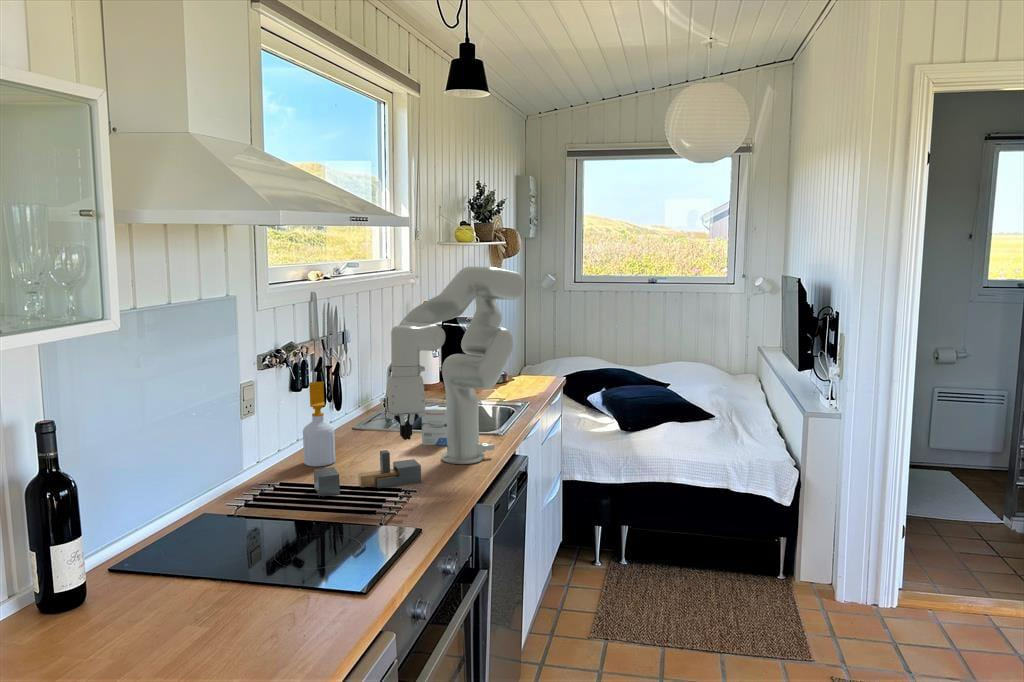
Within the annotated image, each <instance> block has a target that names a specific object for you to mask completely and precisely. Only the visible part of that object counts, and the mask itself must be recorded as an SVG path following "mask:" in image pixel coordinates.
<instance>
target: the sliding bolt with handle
mask: <svg viewBox="0 0 1024 682" xmlns="http://www.w3.org/2000/svg"><path fill="white" fill-rule="evenodd" d="M390 456H391V452H390V451H389V450H388V449H386V450H379V465H380V467H379V468H380V470H373V471H365V472H358V473H357V476H358V477H357V479H358V481H357V482H358V486H359V487H360V488H367V487H375V486H376V478H383V477H391V476H398V469H397V468H396V469H393V468H391V457H390ZM376 487H377V486H376Z"/></svg>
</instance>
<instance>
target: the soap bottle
mask: <svg viewBox="0 0 1024 682" xmlns="http://www.w3.org/2000/svg"><path fill="white" fill-rule="evenodd" d="M324 383H325V381H312V382H310V381H309V383H308V384H309V405H310V408H312V409H313V410H314V412H312V414H311V422H309V423H308V424H307V425H306V426H304V427H303V429H302V443H303V447H302V448H303V463H304V465H306V466H309V467H314V468H315V467H316V468H317V467H319V468H320V467H326V466H330V465H332V464H334V463H335V462H336V444H335V443H336V441H335V440H336V439H335V429H334V426H333V425H332V424H331V423H330V422H327V421H326V420H325V419H324V418H325V417H324V412H321V409H323V407H326V405H325V404H326V403H325V388H324Z"/></svg>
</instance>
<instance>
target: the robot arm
mask: <svg viewBox="0 0 1024 682" xmlns="http://www.w3.org/2000/svg"><path fill="white" fill-rule="evenodd" d="M525 286H526V284H525V280H524V278H523V276H522V275H521V274H520V273H519V272H517V271H514V270H513V271H512V270H507V269H503V268H498V267H494V266H466V267H463V268H462V269H460V270H459V271H458V272H457V274H456V275H454V277H453V278H452V279H451V281H450V282H449V283H448V284H447V285H446V286H445V288H443V290H442V291H441V292H440V293H439V294H438V295H436V296H434V297H432V298H429V300H426V301H424V302H423V303H421V304H419V305H418V306H416V307H414V308H412V309H411V310H410V311H409V312H408V313H407V315H406V316H404V318H403V319H402V320H401V321H400V323H398V325H395V326H392V328H391V331H390V346H391V353H390V355H391V356H390V357H391V365H390V367H391V372H390V373H391V375H390V376H388V377H387V383H386V390H385V410H386V414H385V417H386V418H387V419H390V420H394V421H396V422H397V423H398V424H399V434H400V435H399V436H400V437H401V438H402V440H404V441H407V440H409V441H410V440H411V437H412V436H413V425H414V424H415V422H416V420H417V419H419V418H422V416H425V415H426V413H425V407H426V392H425V385H424V379H423V376H422V375H421V373H422V372H425V371H426V368H425V366H424V365H423V366H422V365H421V364H420V360H421V359H420V357H421V356H420V355H421V354H420V352H421V351H428V352H433V351H437V350H439V349H441V348H442V347H443V345H445V342H446V332H445V330H444V329H443V328H442V327H441V326H440V325H438V324H437V323H441V322H446V321H449V320H453V319H455V318H458V317H460V316H462V315H463V313H465V311H466V310H467V309H468V307H469V306H470V304H471V303H472V302H473V301H474V300H475V312H474V313H473V317H472V319H471V320H470V323H469V325H468V326H467V328H466V330H465V332H464V334H463V337H462V339H461V343H460V347H461V349H462V352H463V353H454V354H451V355H449V356H447V357H446V358H445V359H444V361H443V363H442V367H441V375H442V378H443V383H444V389H445V400H446V401H445V402H446V404H445V407H446V413H447V445H446V449H447V450H446V451H445V452H444V453H442V455H441V459H442V461H444V462H445V463H448V464H453V465H454V464H455V465H470V464H476V463H479V462H482V461H483V460H484V459H485V451H489V452H490V451H494V450H495V444H494V443H489V444H488V443H486V442H485V443H484V442H483V443H481V442H480V437H479V435H480V432H479V421H480V420H479V397H478V395H477V392H476V390H475V389H479V390H489V389H492V388H494V387H495V386H496V384H497V383H498V382H499V379H500V377H501V376H502V373H503V371H504V369H505V367H506V366H507V364H508V361H509V358H510V356H511V354H512V351H513V348H514V339H513V335H512V333H511V332H510V330H508V329H507V328H505V327H501V326H500V325H501V323H502V320H503V319H502V318H503V317H502V316H503V315H502V313H501V310H500V308H499V305H498V303H497V300H503V301H505V300H506V301H515V300H518V299H520V298H521V297H522V296H523V294H524V292H525V288H526V287H525ZM405 415H406V416H407V417H406V419H405Z"/></svg>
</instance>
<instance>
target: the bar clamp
mask: <svg viewBox="0 0 1024 682" xmlns="http://www.w3.org/2000/svg"><path fill="white" fill-rule="evenodd" d="M396 468H397V469H398V476H391V477H383V478H376V488H377V489H383V488H391V487H397V486H405V485H413V484H421V483H422V465H421V464H420V463H419V462H418V461H417V460H416V459H414V458H413V459H404V460H403V459H402V460H397V461H393V462H392V469H396ZM313 485H314V490H315V492H316V491H317V492H316V493H318V494H317V495H319V496H318V497H319V498H321V497H320V496H322V497H327V495H329V496H335V495H334V494H337V495H340V494H341V489H340V488H341V486H340V485H341V484H340V473H339V472H338V471H337V469H336V468H335V467H334V466H333V467H323V468H315V469H313Z"/></svg>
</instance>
